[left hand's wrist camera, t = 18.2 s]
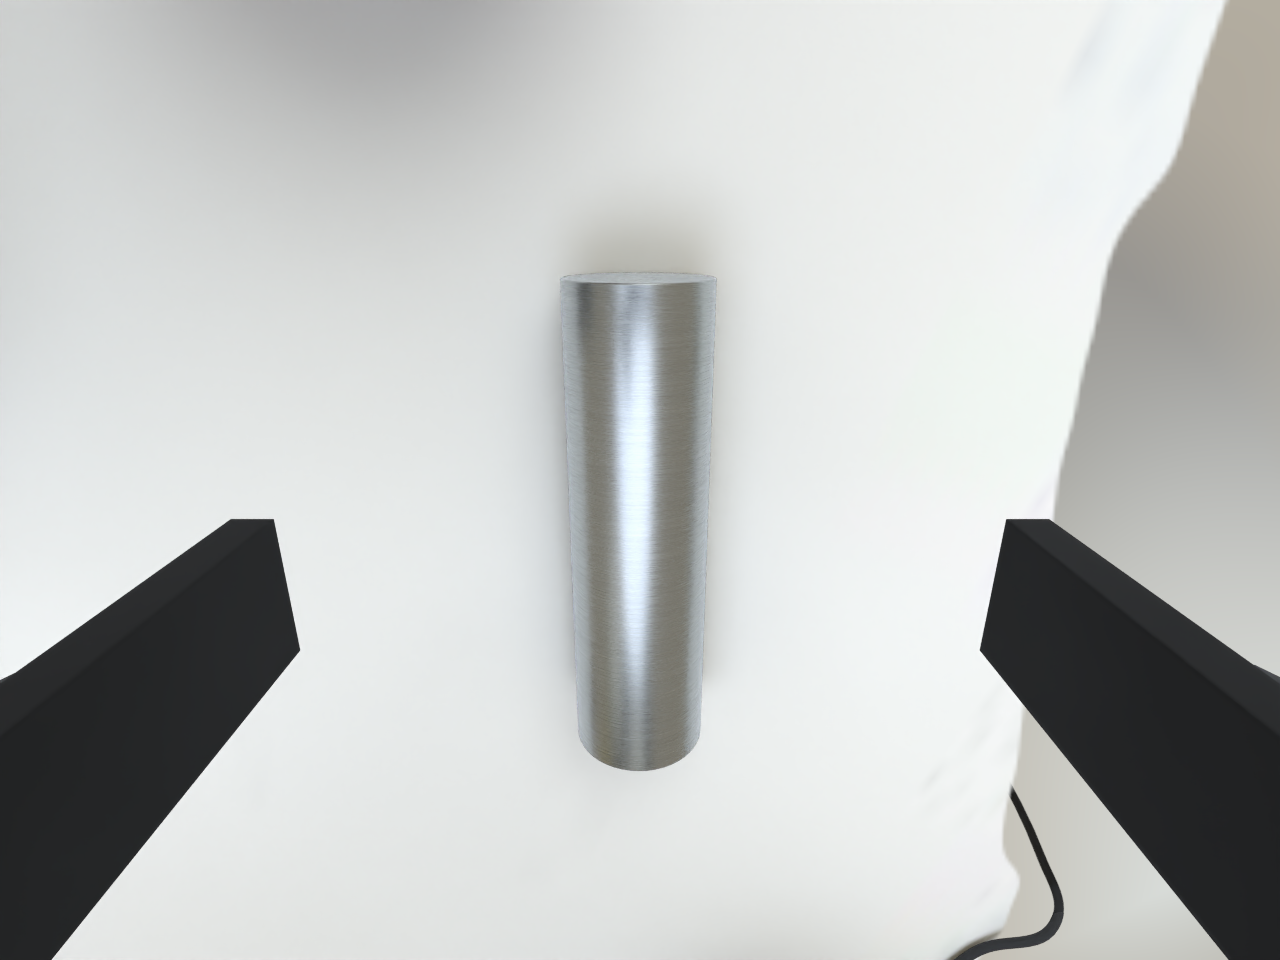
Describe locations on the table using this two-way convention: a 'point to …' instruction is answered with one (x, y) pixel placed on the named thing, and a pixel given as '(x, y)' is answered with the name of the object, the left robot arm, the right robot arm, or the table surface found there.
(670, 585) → the rod
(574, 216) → the table surface
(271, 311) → the table surface
